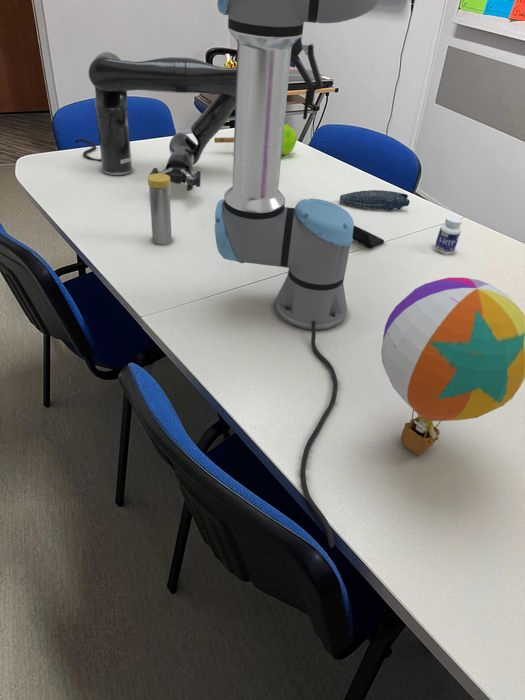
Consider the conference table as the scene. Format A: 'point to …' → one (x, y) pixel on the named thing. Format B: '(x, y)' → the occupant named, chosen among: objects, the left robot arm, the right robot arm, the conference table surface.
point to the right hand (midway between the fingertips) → (278, 114)
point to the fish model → (376, 199)
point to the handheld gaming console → (366, 238)
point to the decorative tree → (287, 144)
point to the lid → (159, 180)
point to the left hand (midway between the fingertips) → (172, 187)
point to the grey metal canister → (160, 215)
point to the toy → (453, 354)
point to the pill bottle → (448, 235)
